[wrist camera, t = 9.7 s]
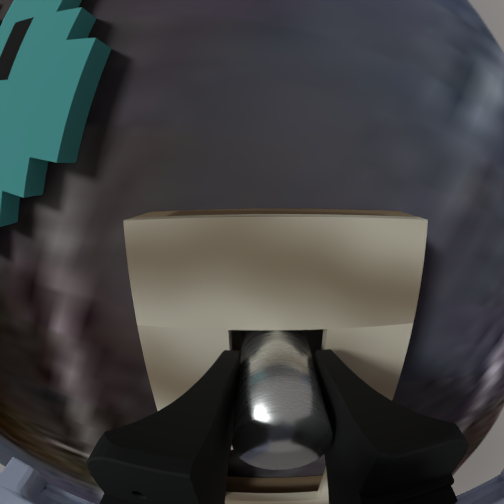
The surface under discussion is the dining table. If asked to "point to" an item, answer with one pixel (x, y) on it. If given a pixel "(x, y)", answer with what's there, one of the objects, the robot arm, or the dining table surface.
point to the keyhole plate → (274, 298)
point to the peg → (279, 399)
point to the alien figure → (43, 93)
